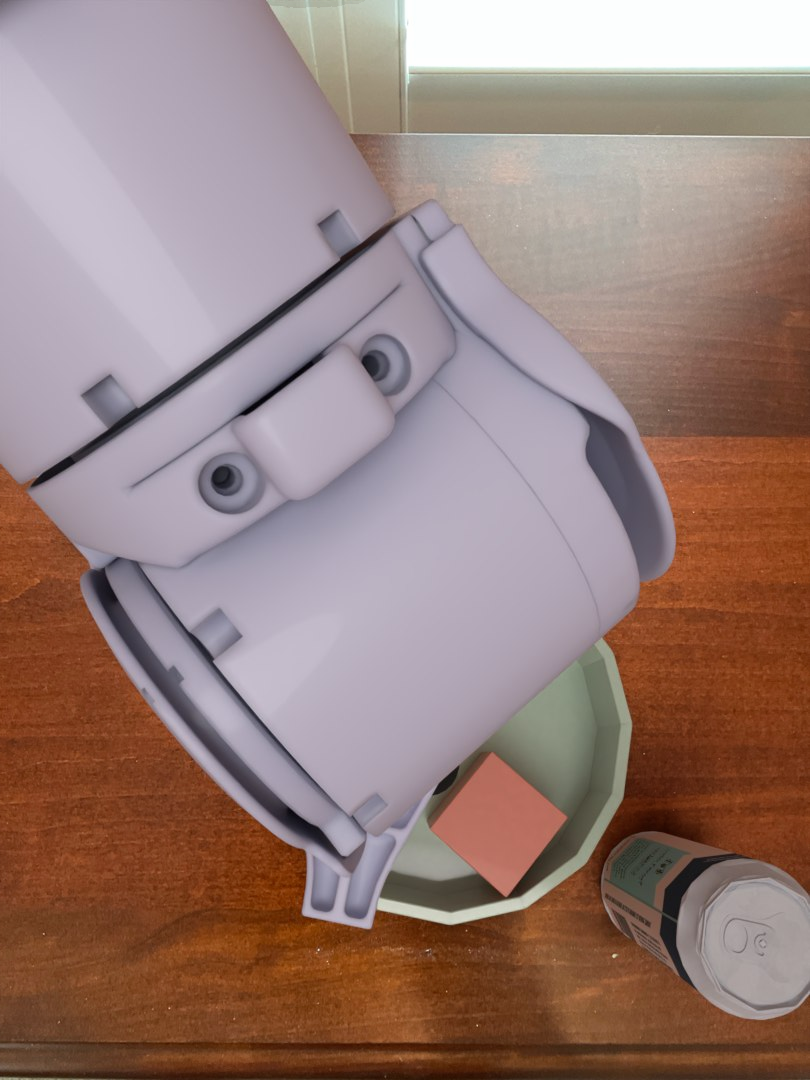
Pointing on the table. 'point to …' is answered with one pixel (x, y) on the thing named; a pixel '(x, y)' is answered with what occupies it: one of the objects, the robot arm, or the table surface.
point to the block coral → (496, 821)
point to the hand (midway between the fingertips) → (390, 688)
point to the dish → (552, 769)
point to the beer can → (714, 921)
